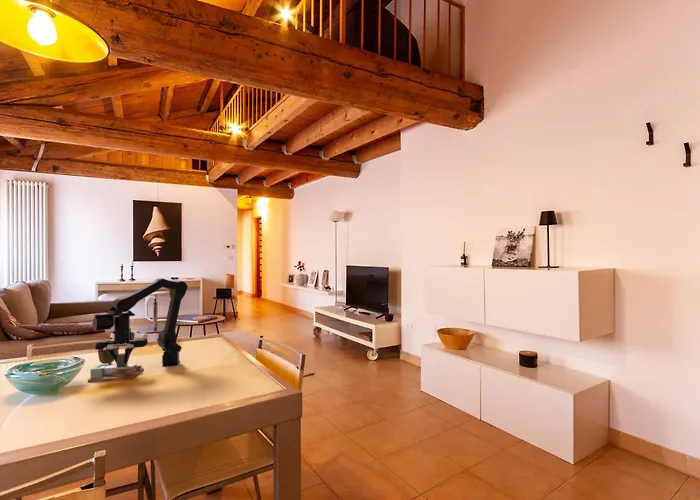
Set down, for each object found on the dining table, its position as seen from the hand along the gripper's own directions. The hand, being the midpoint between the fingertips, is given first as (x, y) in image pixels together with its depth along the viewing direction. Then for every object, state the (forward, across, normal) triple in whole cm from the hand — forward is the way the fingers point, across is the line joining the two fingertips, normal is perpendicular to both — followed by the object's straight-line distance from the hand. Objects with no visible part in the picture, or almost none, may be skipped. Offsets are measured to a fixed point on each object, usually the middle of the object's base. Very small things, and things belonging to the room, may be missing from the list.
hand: (122, 363), depth 160 cm
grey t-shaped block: (+4, +2, 0) cm, 4 cm away
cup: (+5, +13, -17) cm, 22 cm away
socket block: (+5, +9, 0) cm, 10 cm away
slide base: (+5, +2, 0) cm, 5 cm away
